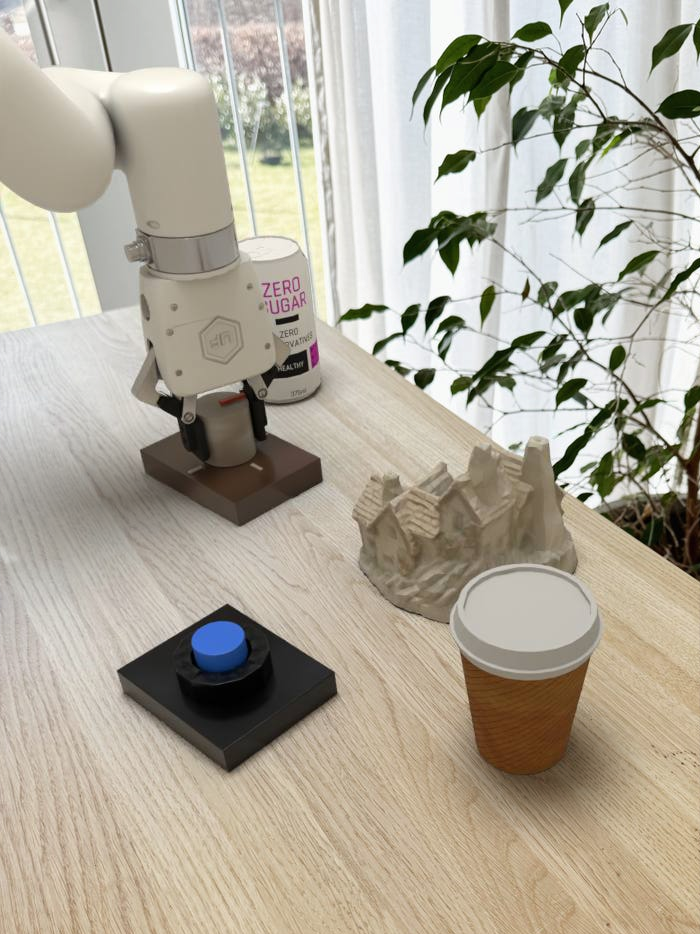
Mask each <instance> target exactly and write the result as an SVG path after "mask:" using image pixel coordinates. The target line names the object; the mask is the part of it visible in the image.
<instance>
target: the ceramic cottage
mask: <svg viewBox="0 0 700 934" xmlns="http://www.w3.org/2000/svg"><path fill="white" fill-rule="evenodd" d="M524 447H525V448H524V451H523V452H524V453H523V456H522V455H520V454H518V453H514V452H510V451H506V450H504V449H502V448H499V447H497V446H495V445H492V444H491V443H489V442H487V441H481V440H479V441H476V442H475V444H474V446H473V449H472V451H471V454H470V457H469V460H468V464H467V471H465V472H464V473H462V474H459V475H457V476H456V477H455V478H454V477H453V476H452V474H451V473H450V472H449V471H448V464H447V463H445V462H444V461H440V462H438V464H437V465H435V467H434V468H432V469H431V470H430V472H429V473H428V474H427V475H425V476H423V478H422V479H421V480H419V481H418V482H416V483H415V484H413V486H412V487H411V486H406V485H402V483H401V481H400V475H399V474H397V473H396V472H394V471H392V470H390V469H389V470H385V471H384V474H383V475H381V473H379V472H374V473H370V478H369V479H368V480H367V482H366V483H365V488H364V489H363V490H362V492H361V494H360V495H359V496H358V499H357V501H356V503H355V505H354V506H353V508H352V513H351V518H352V519H353V520H354V521H355V522H356V523H357V524H358V529H359V534H360V539H361V543H362V545H361V547H360V548H359V558H358V565H359V568H360V570H362V573H363V574H365V575H366V577H367V578H368V580H369V582H371V584H373V585H374V586H375V587H376V588H377V590H379V593H380V594H381V595H382V596H383V598H384V599H385V600H388V601H389V603H391V604H392V605H394V606H396V607H399V608H401V609H403V610H405V611H408V612H409V613H412V612H413V613H415V614H417V615H419V614H420V615H421V616H422V617H423V619H424V618H427V619H429V620H433V621H436V622H439V623H442V624H444V623H450V614H451V611H452V609H453V607H454V605H455V603H456V602H457V601H458V599H459V596H460V593H461V591H462V589H463V588H464V587H465V586H466V585H467V584H468V583H469V581H470V580H472V579H473V578H475V577H476V576H478V575H479V574H481V573H483V572H485V571H488V570H490V569H493V568H496V567H500V566H504V565H511V564H527V563H529V564H539V565H545V566H550V567H553V568H556V569H559V570H561V571H564V572H567V573H569V574H571V575H573V573H574V572H575V571H576V568H577V564H578V562H579V560H578V556H577V552H576V546H575V543H574V540H573V538H572V534H571V531H570V530H569V529H568V528H567V527H566V526H565V524H564V519H563V516H564V514H565V511H564V509H563V508H562V501H563V499H564V498H565V496H566V495H567V494H568V493H567V492H566V491H564V489H562V488H560V486H559V483H557V482H555V473H554V468H553V464H552V460H551V459H552V458H551V448H550V447H551V446H550V440H549V439H548V438H546V437H544V436H540V435H532V436H530V437H529V439H528V440H527V442H526V444H525V446H524Z"/></svg>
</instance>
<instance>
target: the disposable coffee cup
mask: <svg viewBox="0 0 700 934" xmlns="http://www.w3.org/2000/svg"><path fill="white" fill-rule="evenodd" d="M604 626H605V625H604V618H603V614H602V612H601V609H600V608H599V606H598V604H597V601H596V598H595V596H594V594H593V591H592V590H591V589H590V588H589V587H588V586H587V584H585V582H584V581H582V580H581V579H579V578H578V577H576V576H575V575H573V574H569V573H567V572H564V571H561V570H559V569H556V568H553V567H550V566H545V565H539V564H529V563H527V564H511V565H504V566H500V567H496V568H493V569H490V570H488V571H485V572H483V573H481V574H479V575H478V576H476V577H475V578H473V579H472V580H470V581H469V583H468V584H467V585H466V586H465V587H464V588H463V589H462V591H461V593H460V596H459V599H458V601H457V602H456V603H455V605H454V607H453V609H452V611H451V614H450V622H449V630H450V633H451V638H452V640H453V641H454V642H455V645H456V646H457V648H458V650H459V654H460V660H461V665H462V672H463V676H464V683H465V688H466V689H465V690H466V693H467V699H468V705H469V711H470V716H471V722H472V727H473V732H474V739H475V744H476V745H475V746H476V748H477V750H478V752H479V754H480V756H481V757H482V758H483V759H484V760H485V762H487V763H488V764H489V765H491V767H494V768H496V769H498V770H500V771H502V772H506V773H509V774H515V775H516V774H517V775H529V774H537V773H540V772H543V771H546V770H548V769H550V768H552V767H553V766H555V765H556V764H557V763H558V762H559V761H560V760H562V758H563V756H564V754H565V752H566V750H567V747H568V742H569V738H570V734H571V731H572V728H573V724H574V720H575V717H576V713H577V710H578V707H579V706H578V705H579V702H580V699H581V694H582V691H583V687H584V683H585V679H586V676H587V673H588V669H589V665H590V660H591V657H592V654H593V653H594V652H595V651H596V649H597V647H598V646H599V645H600V643H601V640H602V637H603V634H604V633H603V632H604Z"/></svg>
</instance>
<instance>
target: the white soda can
mask: <svg viewBox="0 0 700 934" xmlns="http://www.w3.org/2000/svg"><path fill="white" fill-rule="evenodd" d="M238 246H239V250H241V251H243V252H245V253H247V254H249V256H250V258H251V260H252V263H253V265H254V268H255V271H256V274H257V277H258V280H259V283H260V287H261V290H262V293H263V297H264V300H265V304H266V308H267V312H268V316H269V320H270V325H271V329H272V332H273V333H274V334H275V335H276V336H278V337H279V338H280V339H281V340H282V341H283V342H284V343H286V344H287V345H288V346H289V347H290V348H291V353H290V355H289V356H288V357H287V359H286V360H285V361H284V363H283V364H282V365H281V367H279V368H278V372H277V375H276V376H275V378H274V379H273V381H272V383H271V384H270V386H269V387H268V396H267V397H266V398H265V399H264V403H269V404H288V403H294V402H297V401H298V402H299V401H301V400H303V399H306V398H309V397H310V396H311V395H312V394H313V393H314V392H315V391H316V390H317V388H318V387H319V386H320V385H321V382H322V371H321V361H320V354H319V345H318V337H317V336H318V335H317V327H316V319H315V318H316V317H315V309H314V300H313V292H312V291H313V290H312V282H311V274H310V273H311V272H310V264H309V260H308V257H307V256H306V255H305V253H304V251H303V250H302V248H301V244H300V243H299V241H297V240H296V239H294V238H292V237H288V236H284V235H277V234H276V235H275V234H274V235H273V234H265V235H254V236H250V237H245V238H242V239H238Z"/></svg>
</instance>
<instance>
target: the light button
mask: <svg viewBox="0 0 700 934" xmlns="http://www.w3.org/2000/svg"><path fill="white" fill-rule="evenodd" d="M191 643H192V648H193V652H194V656H195V660H196V663H197V665H198V666H199V668H201V669H202V670H204V671H206V672H213V673H220V672H224V671H229V670H233V669H235V668H237V667H238V666H240V665H241V664H243V663H244V662H245V661H246V659H247V656H248V649H247V644H246V639H245V634H244V631H243V629H242V628H241V627H240V626H239V625H237V624H235V623H232V622H227V621H219V622H213V623H210V624H207V625H205V626H203V627H201V628H200V629H198V630H197V631H196V632H195V634H194V635H193V637H192V641H191Z"/></svg>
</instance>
